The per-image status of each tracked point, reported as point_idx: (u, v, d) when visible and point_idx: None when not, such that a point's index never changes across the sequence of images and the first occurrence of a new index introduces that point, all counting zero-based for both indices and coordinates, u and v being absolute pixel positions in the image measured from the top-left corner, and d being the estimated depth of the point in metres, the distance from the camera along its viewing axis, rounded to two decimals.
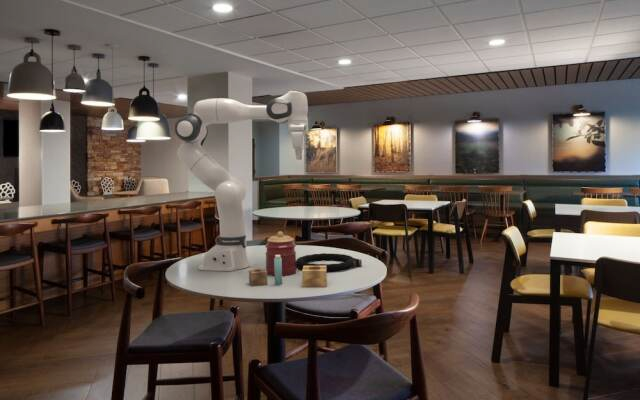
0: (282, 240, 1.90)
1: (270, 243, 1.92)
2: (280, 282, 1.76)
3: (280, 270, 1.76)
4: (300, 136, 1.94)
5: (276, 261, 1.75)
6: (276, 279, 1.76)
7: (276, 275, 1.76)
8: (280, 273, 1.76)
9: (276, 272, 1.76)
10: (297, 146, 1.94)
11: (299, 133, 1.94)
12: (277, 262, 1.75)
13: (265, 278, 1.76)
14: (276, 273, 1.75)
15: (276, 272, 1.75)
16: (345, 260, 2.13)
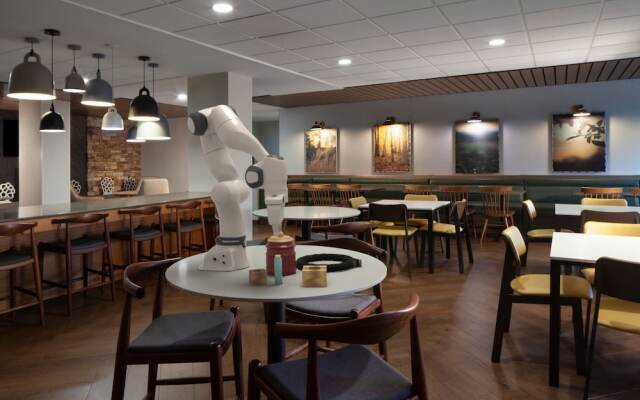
0: (282, 240, 1.90)
1: (270, 243, 1.92)
2: (280, 282, 1.76)
3: (280, 270, 1.76)
4: (277, 211, 1.65)
5: (276, 261, 1.75)
6: (276, 279, 1.76)
7: (276, 275, 1.76)
8: (280, 273, 1.76)
9: (276, 272, 1.76)
10: (274, 223, 1.65)
11: (276, 207, 1.66)
12: (277, 262, 1.75)
13: (265, 278, 1.76)
14: (276, 273, 1.75)
15: (276, 272, 1.75)
16: (345, 260, 2.13)
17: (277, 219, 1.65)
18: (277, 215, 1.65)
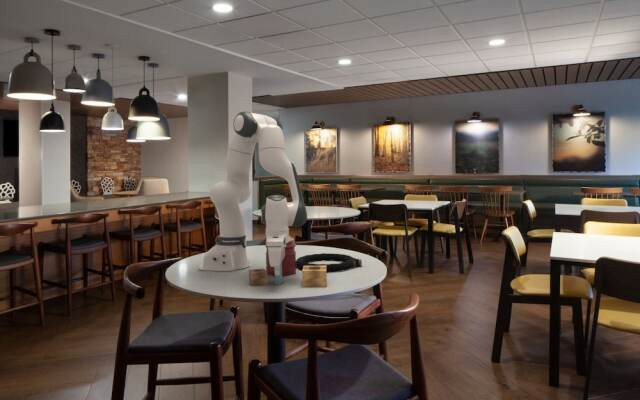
0: None
1: None
2: (280, 282, 1.76)
3: (280, 270, 1.76)
4: (278, 253, 1.66)
5: None
6: (276, 279, 1.76)
7: (276, 275, 1.76)
8: (280, 273, 1.76)
9: None
10: (275, 265, 1.66)
11: (277, 249, 1.67)
12: None
13: (265, 278, 1.76)
14: None
15: None
16: (345, 260, 2.13)
17: (278, 261, 1.66)
18: (278, 257, 1.66)
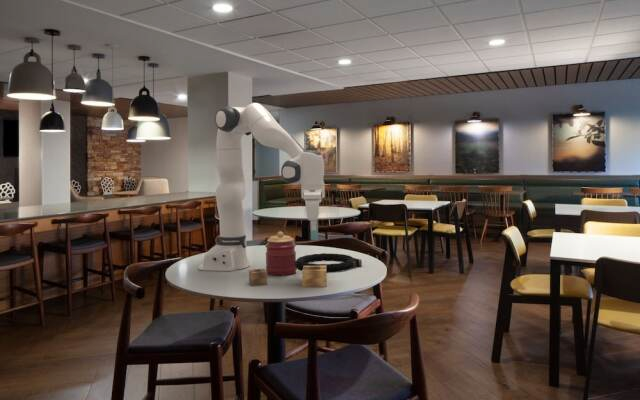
0: (282, 240, 1.90)
1: (270, 243, 1.92)
2: (316, 238, 1.74)
3: (316, 226, 1.74)
4: (316, 206, 1.65)
5: None
6: (312, 235, 1.74)
7: (312, 231, 1.74)
8: (316, 229, 1.74)
9: None
10: (313, 218, 1.65)
11: (315, 203, 1.65)
12: None
13: (265, 278, 1.76)
14: None
15: None
16: (345, 260, 2.13)
17: (316, 214, 1.65)
18: (316, 210, 1.65)
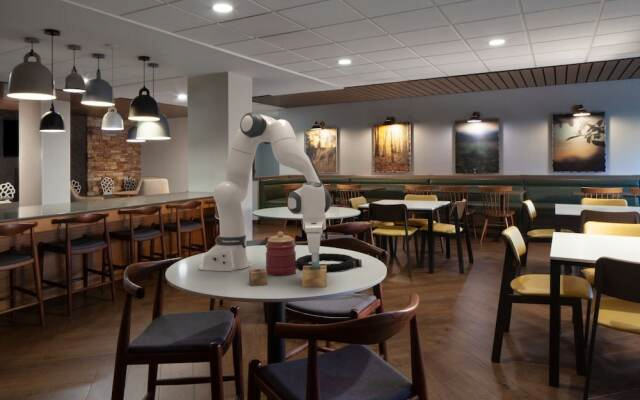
0: (282, 240, 1.90)
1: (270, 243, 1.92)
2: None
3: (317, 257, 1.75)
4: (318, 239, 1.66)
5: None
6: (313, 266, 1.75)
7: (313, 262, 1.75)
8: (317, 260, 1.75)
9: None
10: (314, 251, 1.66)
11: (316, 236, 1.66)
12: None
13: (265, 278, 1.76)
14: None
15: None
16: (345, 260, 2.13)
17: (317, 247, 1.66)
18: (317, 243, 1.66)
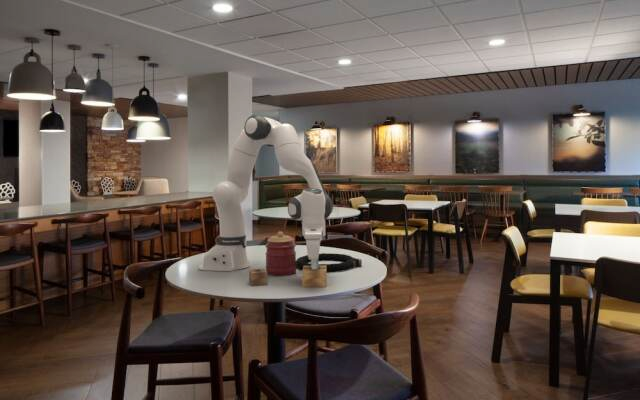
0: (282, 240, 1.90)
1: (270, 243, 1.92)
2: None
3: None
4: (317, 246, 1.66)
5: None
6: None
7: None
8: None
9: None
10: (313, 258, 1.66)
11: (316, 242, 1.66)
12: None
13: (265, 278, 1.76)
14: None
15: None
16: (345, 260, 2.13)
17: (317, 254, 1.66)
18: (317, 250, 1.66)
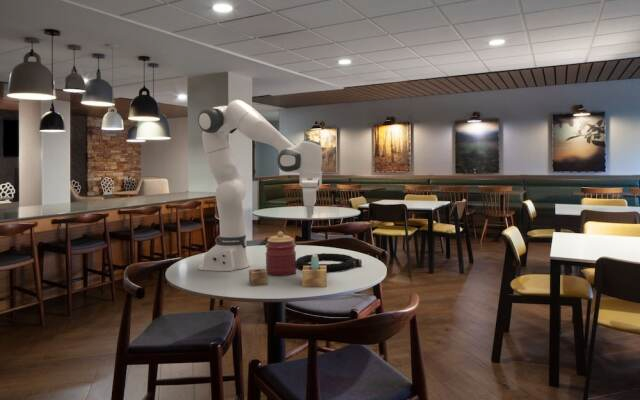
0: (282, 240, 1.90)
1: (270, 243, 1.92)
2: None
3: None
4: (313, 194, 1.72)
5: (313, 261, 1.75)
6: None
7: None
8: None
9: None
10: (309, 205, 1.72)
11: (312, 190, 1.72)
12: (315, 261, 1.75)
13: (265, 278, 1.76)
14: None
15: None
16: (345, 260, 2.13)
17: (312, 201, 1.72)
18: (312, 197, 1.72)
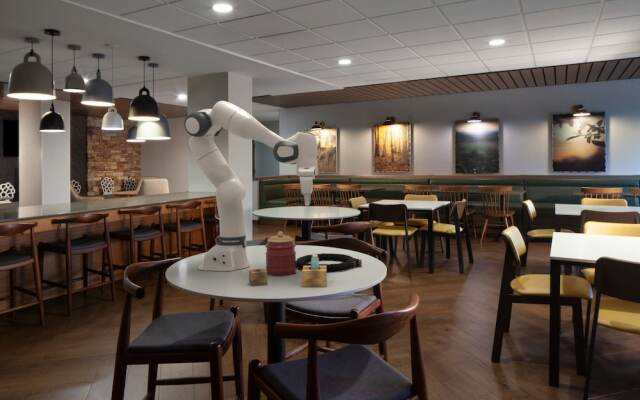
0: (282, 240, 1.90)
1: (270, 243, 1.92)
2: None
3: None
4: (310, 182, 1.80)
5: (313, 260, 1.75)
6: None
7: None
8: None
9: None
10: (306, 193, 1.80)
11: (308, 179, 1.80)
12: (315, 261, 1.75)
13: (265, 278, 1.76)
14: None
15: None
16: (345, 260, 2.13)
17: (309, 189, 1.80)
18: (309, 185, 1.80)
